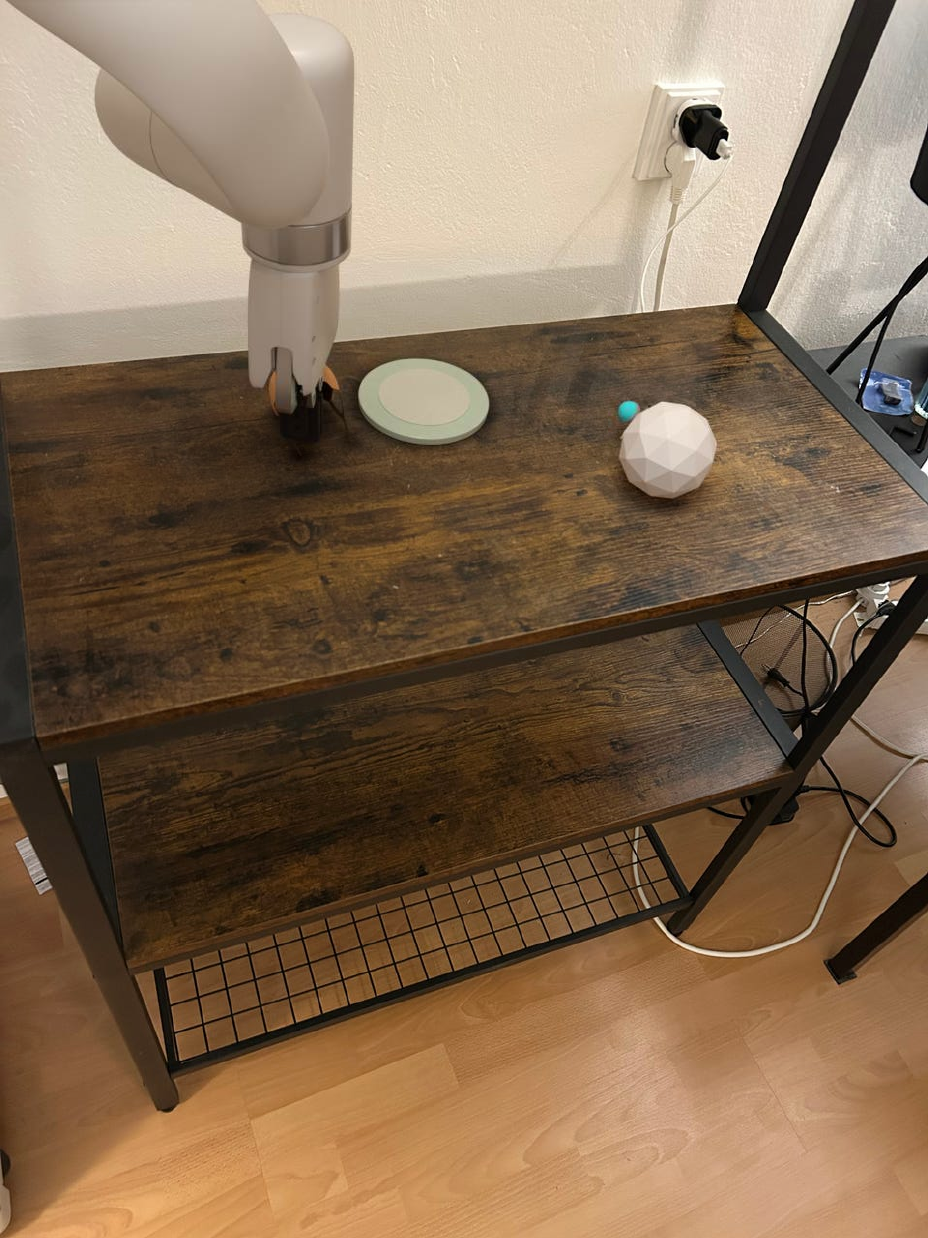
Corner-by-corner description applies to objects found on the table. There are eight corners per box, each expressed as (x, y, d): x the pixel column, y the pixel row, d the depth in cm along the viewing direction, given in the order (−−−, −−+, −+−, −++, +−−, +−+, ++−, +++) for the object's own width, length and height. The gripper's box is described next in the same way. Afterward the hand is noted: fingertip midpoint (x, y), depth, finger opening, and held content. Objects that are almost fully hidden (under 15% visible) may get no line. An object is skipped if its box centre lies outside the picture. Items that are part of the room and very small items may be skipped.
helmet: (343, 450, 88) (312, 367, 88) (366, 428, 82) (332, 339, 81) (284, 467, 85) (251, 382, 85) (302, 446, 79) (267, 354, 79)
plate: (383, 455, 84) (383, 447, 83) (341, 373, 91) (341, 366, 90) (509, 433, 88) (510, 426, 87) (459, 356, 94) (460, 349, 94)
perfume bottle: (634, 497, 78) (564, 421, 86) (690, 528, 84) (619, 455, 92) (699, 419, 75) (621, 349, 83) (752, 457, 81) (674, 387, 89)
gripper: (271, 167, 72) (280, 374, 86) (210, 270, 62) (231, 485, 76) (371, 184, 72) (364, 389, 86) (325, 290, 62) (325, 502, 76)
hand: (302, 434), depth 81 cm, fingers closed
